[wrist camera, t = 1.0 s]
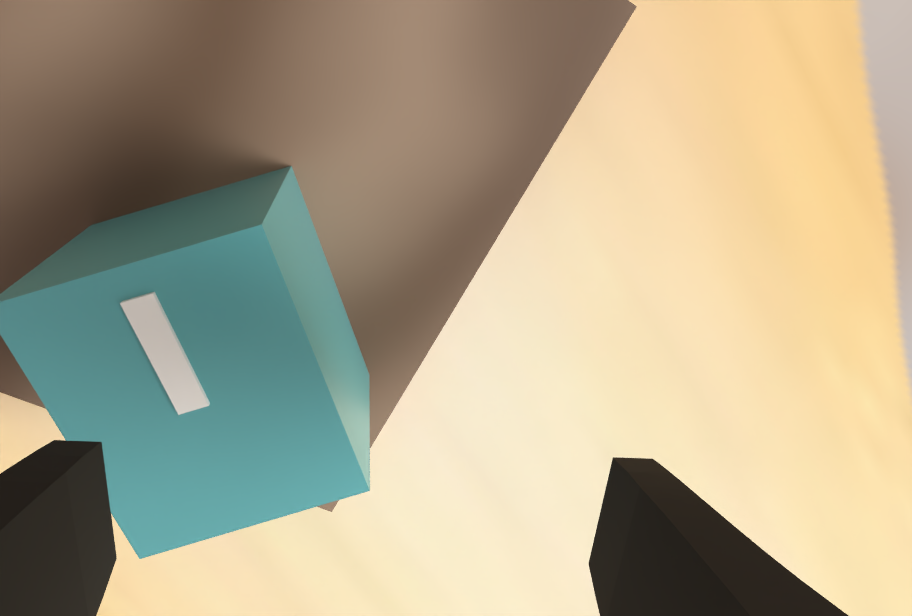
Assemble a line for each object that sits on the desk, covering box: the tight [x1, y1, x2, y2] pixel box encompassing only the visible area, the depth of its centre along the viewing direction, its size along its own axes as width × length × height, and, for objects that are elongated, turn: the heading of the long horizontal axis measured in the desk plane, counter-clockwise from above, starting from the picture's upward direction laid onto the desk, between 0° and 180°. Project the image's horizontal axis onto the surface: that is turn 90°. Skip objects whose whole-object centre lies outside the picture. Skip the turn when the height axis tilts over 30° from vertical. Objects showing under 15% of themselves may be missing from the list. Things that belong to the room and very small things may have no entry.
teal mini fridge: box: [0, 166, 370, 559], centre depth 15 cm, size 5×6×5 cm
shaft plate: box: [0, 0, 637, 512], centre depth 15 cm, size 18×16×4 cm
